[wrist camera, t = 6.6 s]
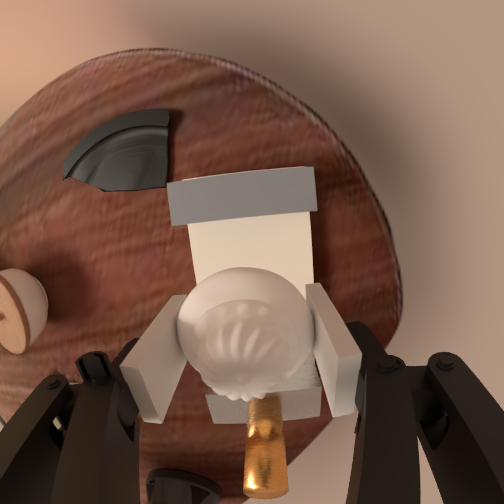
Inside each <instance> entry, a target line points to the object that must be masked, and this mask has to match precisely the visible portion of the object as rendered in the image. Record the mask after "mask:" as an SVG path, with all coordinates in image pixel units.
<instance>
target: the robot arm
mask: <svg viewBox="0 0 504 504" xmlns="http://www.w3.org/2000/svg"><path fill="white" fill-rule="evenodd" d="M305 290H306V302H307V304H308V306H309V308H310V310H311V313H312V316H313V320H314V326H315V338H314V343H313V347H312V349H313V352H314V355H315V359H316V362H317V365H318V369H319V372H320V375H321V379H322V382H323V385H324V389H325V392H326V396H327V399H328V403H329V406H330V409H331V413H332V416H333V417H339V416H344V415H348V414H353V413H354V407H355V404H356V406H357V409H358V411H359V414H358V418H357V423H356V427H355V432H354V433H356V437H355V446H354V455H353V463H352V470H351V476H350V482H349V488H348V494H347V499H346V504H420V465H419V451H418V440H417V436H418V438H419V440H420V443H421V445H422V448H423V450H424V452H425V455H426V457H427V460H428V462H429V465H430V467H431V470H432V473H433V475H434V478H435V481H436V483H437V486H438V489H439V492H440V494H441V497H442V500H443V503H444V504H504V411H503V410H502V408H501V407H500V406H499V404H498V403H497V402H496V400H495V399H494V398H493V397H492V396H491V394H490V393H489V392H488V391H487V389H486V388H485V387H484V386H483V384H482V383H481V382H480V380H479V379H478V378H477V377H476V376H475V374H474V373H473V372H472V371H471V370H470V368H469V367H468V366H467V365H466V364H465V363H464V361H463V360H462V359H461V358H460V357H458V356H457V355H455V354H452V353H450V352H439V353H436V354H433V355H432V356H431V357H430V358H429V360H428V364H427V366H406V365H405V363H404V361H403V360H402V359H400V358H399V357H396V356H393V355H388V354H387V353H386V352H385V350H384V349H383V347H382V346H381V344H380V343H379V342H378V340H377V339H376V338H375V336H374V335H373V333H372V332H371V331H370V329H369V328H368V326H366V325H365V324H363V323H361V322H359V321H356V322H350V323H344V322H343V320H342V318H341V317H340V315H339V313H338V312H337V310H336V308H335V307H334V305H333V303H332V302H331V300H330V298H329V297H328V295H327V294H326V292H325V290H324V289H323V287H322V285H321V284H320V283H313V284H305ZM186 298H187V296H186V295H173V296H172V297H171V298H170V300H169V301H168V302H167V304H166V305H165V306H164V307H163V309H162V310H161V311H160V313H159V314H158V315H157V317H156V318H155V319H154V321H153V322H152V323H151V324H150V326H149V327H148V328H147V330H146V331H145V332H144V334H143V335H142V336H141V338H134V339H133V340H131V341H130V342H128V343H127V344H126V345H125V346H124V348H123V349H122V351H120V353H119V354H118V356H117V357H116V358H115V359H114V360H113V362H112V363H110V361H109V358H108V355H107V354H106V353H104V352H101V351H94V352H89V353H87V354H84V355H82V356H81V357H79V358H78V359H77V360H76V362H75V363H76V365H77V367H78V370H79V372H80V374H81V376H82V378H83V380H84V381H83V384H73V385H70V384H69V382H68V380H67V378H66V377H65V376H64V375H61V374H53V375H50V376H48V377H47V378H45V379H44V380H43V381H41V383H40V384H39V385H38V386H37V387H36V388H35V390H34V391H33V392H32V393H31V394H30V395H29V397H28V398H27V399H26V400H25V401H24V403H23V404H22V405H21V406H20V408H19V409H18V410H17V411H16V412H15V414H14V415H13V416H12V418H11V419H10V420H9V421H8V423H7V424H6V425H5V426H4V428H3V429H2V431H1V432H0V504H140V491H139V424H138V422H137V420H136V417H137V415H138V413H139V412H140V414H141V416H142V418H143V420H144V422H151V423H160V424H162V422H163V420H164V417H165V415H166V412H167V410H168V407H169V404H170V402H171V399H172V397H173V394H174V392H175V389H176V387H177V384H178V382H179V379H180V377H181V374H182V372H183V369H184V367H185V364H186V362H187V359H186V357H185V355H184V353H183V351H182V349H181V347H180V344H179V340H178V335H177V319H178V315H179V312H180V309H181V307H182V305H183V303H184V301H185V300H186ZM55 417H56V418H57V420H58V421H59V423H60V424H61V427H60V428H59V429H57V428H56V427H55V425H54V424H53V420H54V419H55ZM146 493H147V504H219V503H220V501H221V494H222V491H221V489H220V488H219V487H218V486H217V485H216V484H215V483H213V482H211V481H210V480H208V479H205V478H203V477H200V476H198V475H194V474H191V473H187V472H183V471H178V470H171V469H157V470H153V471H151V472H150V473H149V474H148V477H147V480H146Z"/></svg>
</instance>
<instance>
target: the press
mask: <svg viewBox="0 0 504 504" xmlns="http://www.w3.org/2000/svg"><path fill="white" fill-rule="evenodd" d="M167 191H168V200H169V208H170V215H171V223H172V226H176V225H184V224H188V230H189V237H190V244H191V251H192V258H193V264H194V270H195V276H196V282H197V285H198V284H199V283H201V282H202V281H203V280H204V279H206V278H207V277H209V276H211V275H213V274H214V273H217V272H219V271H222V270H225V269H229V268H236V267H253V268H259V269H264V270H268V271H271V272H273V273H276V274H278V275H280V276H282V277H284V278H285V279H286V280H288V281H289V282H291V283H292V284H293V285H294V286H295V287H296V288H297V289H298V290H299V291H300V293H301V294H302V295H303V297H304V298H305V300H306V290H305V284H313V283H314V279H313V257H312V240H311V225H310V211H317V199H316V188H315V177H314V167H305V166H304V167H289V168H277V169H265V170H255V171H246V172H237V173H228V174H220V175H213V176H206V177H199V178H192V179H185V180H182V181H177V182H171V183H167ZM311 353H312V356H313V359H314V363H315V355H314V352H313V349H311Z"/></svg>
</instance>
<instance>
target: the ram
mask: <svg viewBox="0 0 504 504" xmlns="http://www.w3.org/2000/svg"><path fill="white" fill-rule="evenodd" d="M205 396H206V399H207V403H208V406H209V410H210V413H211V416H212V420H213V423H215V424H231V423H247V431H246V448H245V465H244V482H243V493H244V494H245V495H247V496H249V497H252V498H257V499H272V498H277V497H281V496H283V495H285V494H286V493H287V492H288V478H287V465H286V452H285V440H284V428H283V421H285V420H295V419H303V418H311V417H318V416H320V405H321V383H320V380H319V376H318V373H317V369H316V366H315V363H314V359H313V356H312V353H311V352H310V354H309V356H308V357H307V359H306V361H305V362H304V363H303V365H302V366H301V367H300V368H299V369H298V370H297V371H296V372H295V373H294V374H293V375H291V376H290V377H288V378H287V380H286V381H285V382H283V383H280V384H278V389H277V391H276V392H273V393H266V394H265V397H264V398H263V399H259V398H256V397H253V398H252V399H251V400H250V401H248V402H246V401H244V400H243V399H242V398H239V399H237V400H231V399H229V398H228V397H227V396H226V395H224V396H222V395H218V394H217V393H215V392H214V391H213V389H212V388H211V387H209V386H207V390H206V394H205Z"/></svg>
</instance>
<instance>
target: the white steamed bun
mask: <svg viewBox="0 0 504 504" xmlns="http://www.w3.org/2000/svg"><path fill="white" fill-rule="evenodd" d="M177 335H178V340H179V344H180V347H181V349H182V351H183V353H184V355H185V357H186V359H187V360H188V361H189V363H190V364H191V365H192V366H193V367H194V368H195V369H196V370H197V371H198V372H200V373H201V377H202V380H203V381H204V383H205V384H206V385H208V386H209V387H211V388H212V389H213V391H214V392H215V393H217V394H218V395H222V396H224V395H226V396H227V397H228V398H229V399H231V400H237V399H239V398H242V399H243V400H244V401H246V402H248V401H250V400H251V399H252V398H253V397H256V398H259V399H263V398H264V397H265V394H266V393H273V392H276V391H277V389H278V384H280V383H283V382H285V381H286V380H287V378H288V377H290V376H291V375H293V374H294V373H295V372H296V371H297V370H298V369H299V368H300V367H301V366H302V365H303V363H304V362H305V361H306V359H307V357H308V356H309V354H310V352H311V349H312V347H313V343H314V338H315V326H314V320H313V316H312V313H311V310H310V308H309V306H308V304H307V302H306V300H305V298H304V297H303V295H302V294H301V293H300V291H299V290H298V289H297V288H296V287H295V286H294V285H293V284H292V283H291V282H289V281H288V280H286V279H285V278H284V277H282V276H280V275H278V274H276V273H273V272H271V271H268V270H264V269H259V268H253V267H236V268H229V269H225V270H222V271H219V272H217V273H214V274H213V275H211V276H209V277H207V278H206V279H204V280H203V281H202V282H201V283H199V284H198V285H197V286H196V287H195V288H194V289H193V290H192V291H191V293H190V294H189V295H188V297H187V298H186V300H185V301H184V303H183V305H182V307H181V309H180V312H179V315H178V319H177Z"/></svg>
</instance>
